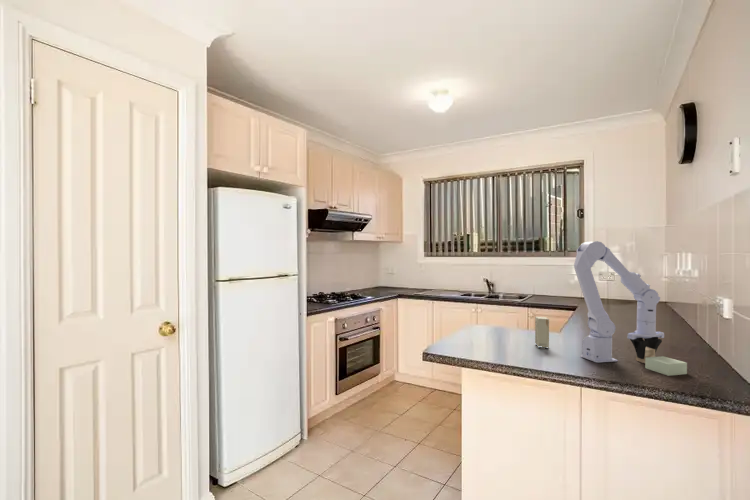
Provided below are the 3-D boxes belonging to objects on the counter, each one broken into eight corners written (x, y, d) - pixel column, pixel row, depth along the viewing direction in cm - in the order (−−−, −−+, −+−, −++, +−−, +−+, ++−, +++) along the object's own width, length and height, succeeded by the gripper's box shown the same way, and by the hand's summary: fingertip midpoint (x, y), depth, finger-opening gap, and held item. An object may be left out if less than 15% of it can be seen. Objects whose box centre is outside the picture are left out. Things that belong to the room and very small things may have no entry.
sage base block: (668, 376, 125) (668, 364, 125) (645, 368, 133) (645, 357, 133) (686, 374, 127) (687, 362, 127) (663, 367, 135) (663, 356, 135)
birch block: (646, 363, 138) (646, 349, 138) (636, 360, 142) (636, 347, 142) (654, 363, 139) (655, 349, 139) (644, 360, 143) (645, 346, 143)
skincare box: (549, 349, 156) (549, 319, 156) (537, 348, 157) (538, 318, 157) (545, 345, 163) (546, 316, 162) (534, 344, 163) (535, 316, 163)
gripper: (651, 318, 146) (651, 353, 146) (620, 319, 142) (619, 355, 142) (670, 321, 139) (669, 359, 139) (637, 323, 136) (637, 361, 136)
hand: (645, 357), depth 140 cm, fingers closed on birch block, 4 cm apart
